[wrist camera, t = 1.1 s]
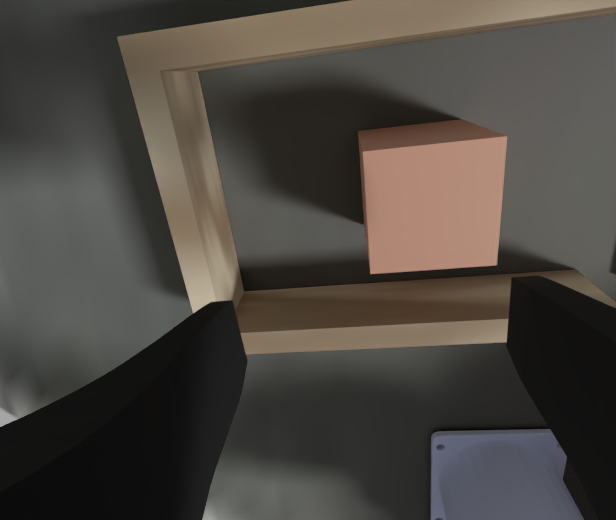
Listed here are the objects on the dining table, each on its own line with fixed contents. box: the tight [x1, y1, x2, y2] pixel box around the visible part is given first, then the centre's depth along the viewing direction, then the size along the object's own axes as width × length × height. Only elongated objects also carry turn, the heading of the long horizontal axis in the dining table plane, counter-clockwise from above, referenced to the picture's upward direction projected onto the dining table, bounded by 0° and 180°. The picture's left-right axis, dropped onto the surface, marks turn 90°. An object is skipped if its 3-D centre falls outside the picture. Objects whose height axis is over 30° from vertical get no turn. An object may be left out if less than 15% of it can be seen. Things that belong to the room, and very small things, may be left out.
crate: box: [117, 0, 616, 354], centre depth 17 cm, size 13×18×4 cm
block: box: [358, 119, 507, 274], centre depth 16 cm, size 4×4×6 cm
